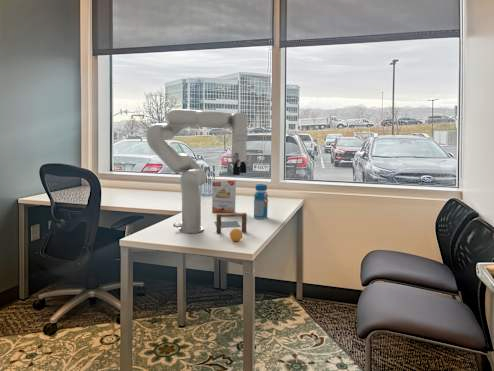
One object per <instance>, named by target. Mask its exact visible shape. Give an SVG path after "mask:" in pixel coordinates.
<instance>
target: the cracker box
mask: <svg viewBox="0 0 494 371" xmlns="http://www.w3.org/2000/svg"><path fill="white" fill-rule="evenodd" d="M236 182H237V181H236V179H224V178H223V179H218V178H214V179H213V180H212V185H211V186H212V191H211V192H212V195H211V196H212V198H211V199H212V200H211V201H212V202H211V204H212V205H211V206H212V207H211V209H212V210H211V212H212V213H216V214H217V213H236V199H237V198H236V195H237V194H236V191H237V190H236V187H237V186H236V184H237V183H236Z"/></svg>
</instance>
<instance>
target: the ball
mask: <svg viewBox="0 0 494 371" xmlns="http://www.w3.org/2000/svg"><path fill="white" fill-rule="evenodd" d="M229 237H230V240H231V241H233V242H240V240H241V241H242V239H243V233H242V229H239V228H233V229H232V230H230V232H229Z"/></svg>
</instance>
